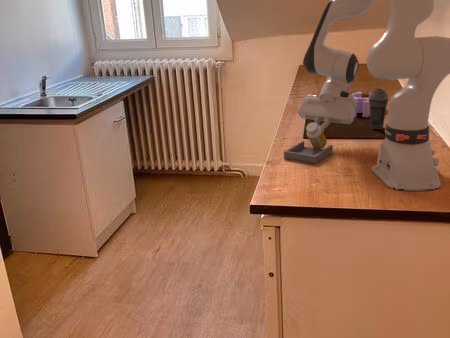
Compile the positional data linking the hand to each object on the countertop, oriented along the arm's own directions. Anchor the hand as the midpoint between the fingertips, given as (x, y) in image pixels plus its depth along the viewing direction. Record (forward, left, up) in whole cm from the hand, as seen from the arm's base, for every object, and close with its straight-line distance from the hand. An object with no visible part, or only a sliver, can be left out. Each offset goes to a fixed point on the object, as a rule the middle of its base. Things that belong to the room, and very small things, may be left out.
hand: (318, 130), depth 163 cm
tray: (-8, +4, -6) cm, 11 cm away
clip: (+49, -23, -7) cm, 54 cm away
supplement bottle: (0, -1, -5) cm, 5 cm away
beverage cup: (+23, -24, -7) cm, 34 cm away
